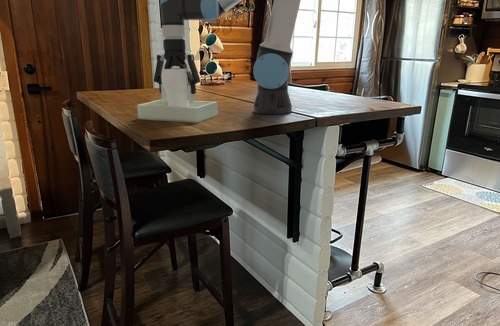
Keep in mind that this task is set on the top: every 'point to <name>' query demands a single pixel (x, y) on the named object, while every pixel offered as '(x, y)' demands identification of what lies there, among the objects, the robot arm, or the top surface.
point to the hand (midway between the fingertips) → (178, 102)
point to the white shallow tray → (178, 111)
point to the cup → (176, 86)
